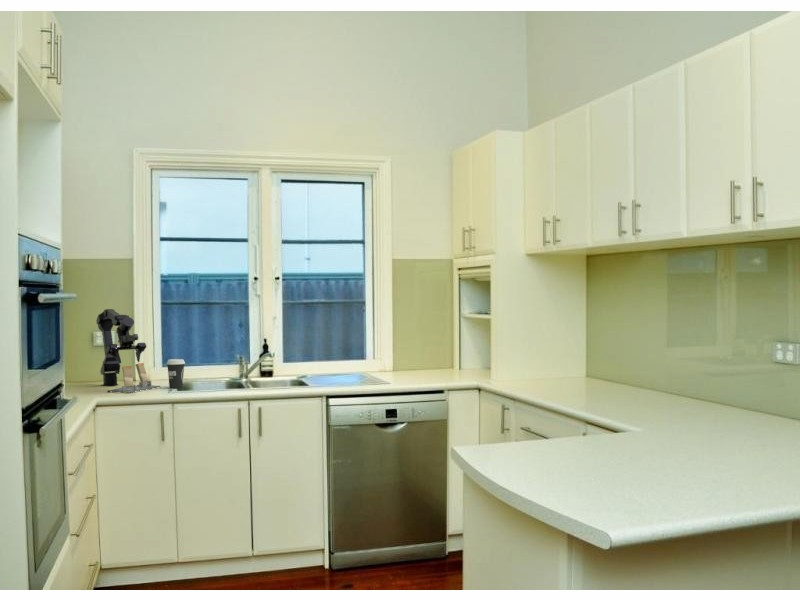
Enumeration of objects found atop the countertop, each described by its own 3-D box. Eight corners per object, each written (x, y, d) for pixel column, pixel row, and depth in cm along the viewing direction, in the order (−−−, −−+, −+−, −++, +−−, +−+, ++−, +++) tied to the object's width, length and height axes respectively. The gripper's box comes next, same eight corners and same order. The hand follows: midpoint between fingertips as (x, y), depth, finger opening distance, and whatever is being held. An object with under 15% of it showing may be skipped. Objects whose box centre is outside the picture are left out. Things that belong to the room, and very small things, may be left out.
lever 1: (124, 387, 340) (122, 367, 342) (132, 386, 342) (130, 367, 345) (125, 386, 338) (123, 366, 341) (133, 385, 341) (131, 366, 344)
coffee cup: (170, 386, 360) (169, 358, 360) (187, 386, 360) (187, 358, 360) (163, 389, 351) (163, 360, 351) (182, 389, 351) (181, 360, 351)
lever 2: (140, 383, 355) (135, 364, 356) (146, 382, 359) (140, 363, 360) (143, 382, 354) (137, 363, 355) (148, 381, 358) (143, 362, 359)
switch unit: (107, 392, 341) (107, 385, 341) (139, 386, 362) (139, 380, 362) (129, 393, 336) (129, 387, 336) (160, 387, 357) (160, 381, 357)
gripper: (109, 329, 337) (115, 356, 331) (146, 327, 350) (152, 353, 343) (103, 340, 344) (109, 366, 338) (140, 338, 357) (146, 364, 350)
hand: (129, 362), depth 342 cm, fingers open, 9 cm apart
